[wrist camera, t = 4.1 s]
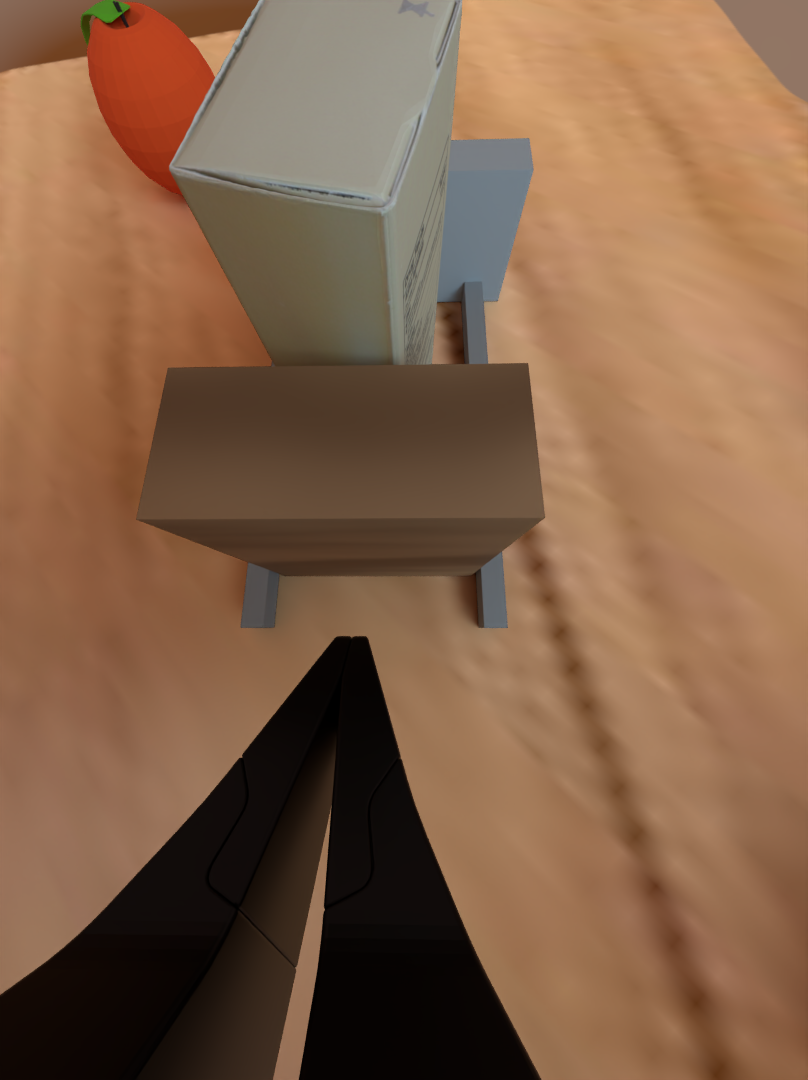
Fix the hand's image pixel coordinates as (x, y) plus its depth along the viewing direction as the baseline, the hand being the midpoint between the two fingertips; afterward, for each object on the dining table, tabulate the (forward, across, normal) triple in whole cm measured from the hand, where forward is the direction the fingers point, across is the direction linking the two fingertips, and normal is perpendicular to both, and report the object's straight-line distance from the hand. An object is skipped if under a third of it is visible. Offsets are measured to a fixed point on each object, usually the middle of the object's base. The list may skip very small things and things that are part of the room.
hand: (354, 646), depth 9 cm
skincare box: (+13, 0, -3) cm, 13 cm away
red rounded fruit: (+26, +13, -16) cm, 34 cm away
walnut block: (+8, 0, +1) cm, 8 cm away
